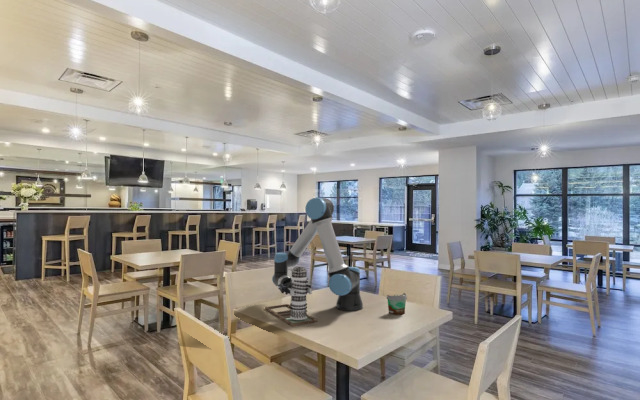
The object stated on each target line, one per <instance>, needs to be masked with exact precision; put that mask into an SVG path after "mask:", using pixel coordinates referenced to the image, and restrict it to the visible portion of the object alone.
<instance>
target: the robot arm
mask: <svg viewBox="0 0 640 400" xmlns="http://www.w3.org/2000/svg"><path fill="white" fill-rule="evenodd" d="M334 211H335V205H334V203H333V201H331V200H330V199H329V198H326V197H324V198H323V197H314V198H313V197H312V198H310V199H309V200H307V203H306V205H305V215H306V216H307V217H308V218H309V219H310V220H309V222H308V223H307V225H306V226H305V228H304V229H303V230H302V232H301V233H300V235H299V237H297V239H296V241H295V242H294V243H293V245H292V247H291V248H290V250H289V251H288V252H276V253H275V254H274V258H273V259H274V260H273V261H274V268H273V270H274V274H273V275H272V277H271V281H272V283H273V284H274V285H275V286H276V287H278V290H279V291H280V293H281V294H284V293H285V295H288V294H289V295H290V296H291V295H292V296H294V290H292V289H291V287H290V284H291V283H290V281H291V277H290V276H288V268H291V267H294V266H296V265H297V264H299V262H300V258H301V257H302V255H303V254H304V252H305V251H306V249H308V247H309V245H310V244H311V243H312V240H314V238H315V237H316V235H317V234H318V236H319V237H318V238H319V239H320V243H321V245H322V249H323V252H324V255H325V258H326V262H327V266H328V268H329V269H328V271H327V274H328V278H329V280H328V287H329V290H330V291H331V293H332V294H334V295H336V296H337V301H336V302H335V303H336V304H335V307H336V309H339V310H341V311H348V312H350V311H351V312H352V311H361V310H362V309H363V308H364V304H363V300H362V297H361V294H360V293H361V292H360V291H361V285H360V284H361V280H360V279H361V278H360V277H361V275H360V274H361V271H360V268H359V267H355V266H349V265H348V264H346V263H345V260H344V258H343V255H342V252H341V248H340V246H339V241H338V239H337V236H336V234H335V230H334V228H333V227H334V226H333V224H332V220H333V214H334V213H335V212H334ZM306 285H308V286H307V287H306V288H308V289H307V290H306V292H307V294H309V295H312V294H313V293H312V290H313V289H312V286H311V285H310V284H308V283H306Z"/></svg>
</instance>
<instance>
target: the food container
mask: <svg viewBox="0 0 640 400" xmlns="http://www.w3.org/2000/svg"><path fill="white" fill-rule="evenodd" d="M386 299H387V307H388V314H390V315H395V316H402V315H404V314H405V312H406V301H407V300H408V295H407V293H405V292H403V293H402V294H394V295H390V294H387V295H386Z"/></svg>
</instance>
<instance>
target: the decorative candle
mask: <svg viewBox="0 0 640 400" xmlns="http://www.w3.org/2000/svg"><path fill="white" fill-rule="evenodd" d="M307 272H308V270H307V269H306V268H305V267H304V266H296V267H294V266H293V268H292V269H291V277H290V278H291V281H290V283H291V284H290V287H291V289H292V290H294V296H292V295H290V296H291V298H290V303H289V305H291V307H290V308H289V310H290V312H291V313H290V315H291V316H290V318H291V319H293V320H303V319H306V318H307V316H306V315H307V314H308V313H307V312H308V310H307V308H308V306H307V305H308V303H307V301H308V299H307V295H308V293H307V292H306V290H307V289H308V288H306V287H307V286H308V285H309V284H308V283H309V281H308V280H309V279H308V277H307V276H308V275H307ZM306 284H307V285H306Z"/></svg>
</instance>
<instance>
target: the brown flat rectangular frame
mask: <svg viewBox="0 0 640 400" xmlns="http://www.w3.org/2000/svg"><path fill="white" fill-rule="evenodd" d="M284 307H288V308H289V309H288V310H287V309H286V310H282V311H274V310H273V309H277V308H284ZM290 307H291V305H290V303H284V304H279V305H270V306H265V310H266V311H267V312H270V313H271V314H272V315H274V316H275V317H277V318H279V319H280V320H282V321H283V322H284V323H286V324H288V325H289V326H290V327H296V326H302V325H307V324H313V323H317V322H318V319H317V318H315V317H313V316H311V315H309V314H308V313H307V315H306V316H307V318H306V319H303V320H293V319H291V318H290V316H291V315H290V313H291V312H290V310H291V308H290Z"/></svg>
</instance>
